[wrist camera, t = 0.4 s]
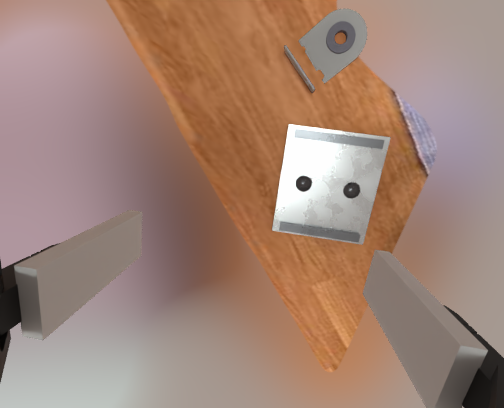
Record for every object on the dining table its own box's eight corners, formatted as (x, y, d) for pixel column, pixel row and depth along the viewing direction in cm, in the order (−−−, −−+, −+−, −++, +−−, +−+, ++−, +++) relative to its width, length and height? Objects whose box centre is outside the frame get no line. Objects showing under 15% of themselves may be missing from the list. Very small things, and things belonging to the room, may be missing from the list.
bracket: (374, 44, 34) (385, 33, 30) (310, 94, 36) (313, 90, 33) (347, -1, 33) (354, -17, 29) (283, 54, 35) (283, 45, 32)
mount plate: (288, 124, 37) (289, 123, 35) (387, 137, 36) (393, 137, 34) (272, 228, 41) (272, 232, 39) (360, 242, 40) (364, 246, 38)
